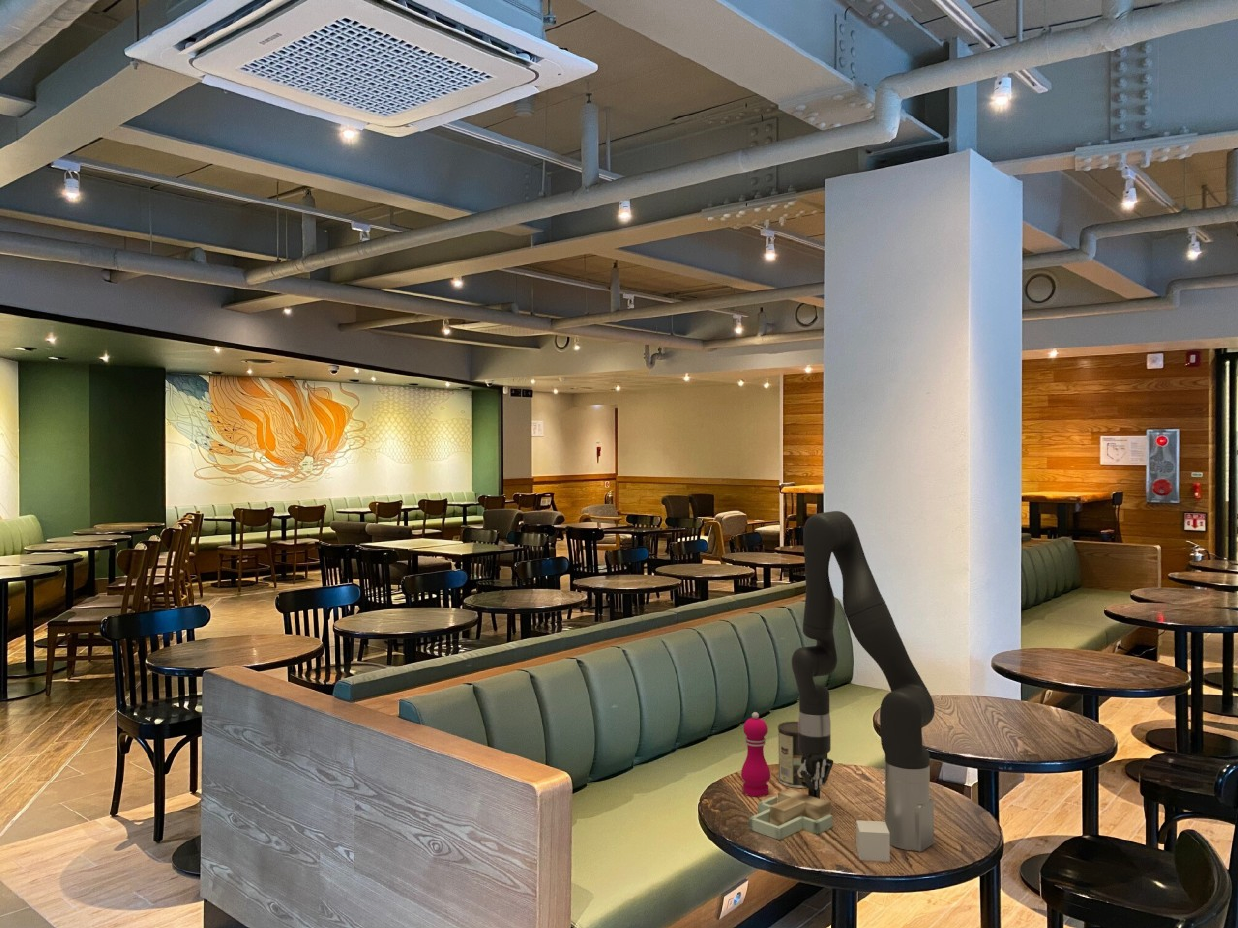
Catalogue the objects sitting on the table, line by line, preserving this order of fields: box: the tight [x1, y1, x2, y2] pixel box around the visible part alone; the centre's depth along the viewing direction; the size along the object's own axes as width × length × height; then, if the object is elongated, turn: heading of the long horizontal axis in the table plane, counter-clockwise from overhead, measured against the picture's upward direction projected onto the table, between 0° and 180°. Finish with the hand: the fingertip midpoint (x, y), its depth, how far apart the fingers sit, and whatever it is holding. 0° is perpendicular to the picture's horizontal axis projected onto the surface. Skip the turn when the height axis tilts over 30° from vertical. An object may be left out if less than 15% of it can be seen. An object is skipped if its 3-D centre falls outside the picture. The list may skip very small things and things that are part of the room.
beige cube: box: [855, 819, 891, 863], centre depth 186 cm, size 6×6×6 cm
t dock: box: [748, 795, 834, 841], centre depth 201 cm, size 16×15×2 cm
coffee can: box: [777, 721, 808, 789], centre depth 229 cm, size 10×10×14 cm
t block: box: [769, 788, 831, 826], centre depth 205 cm, size 12×12×4 cm
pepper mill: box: [740, 711, 771, 797], centre depth 222 cm, size 7×7×20 cm
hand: (814, 803), depth 210 cm, fingers closed
